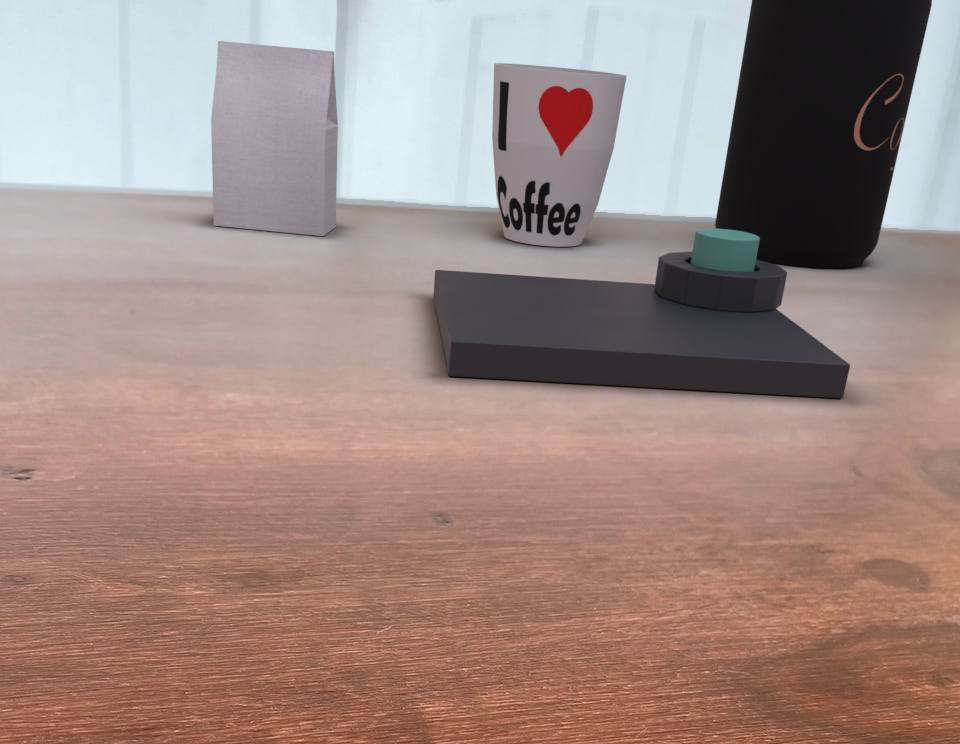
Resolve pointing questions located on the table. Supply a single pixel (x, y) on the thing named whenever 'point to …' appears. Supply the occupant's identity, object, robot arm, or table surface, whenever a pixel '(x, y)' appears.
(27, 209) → the table surface
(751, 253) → the button
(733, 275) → the scale
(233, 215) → the grey paper bag
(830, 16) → the coffee jar
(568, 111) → the cup
